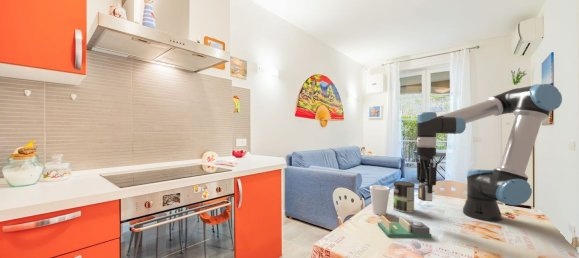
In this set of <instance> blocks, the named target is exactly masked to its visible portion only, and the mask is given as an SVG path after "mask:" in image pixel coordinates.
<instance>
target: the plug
mask: <svg viewBox="0 0 579 258" xmlns="http://www.w3.org/2000/svg"><path fill="white" fill-rule="evenodd" d="M417 193H418V195H417V198H418V200H420V201H422V202H423V201H424V202H432V201H431V200H425V185H420V184H418V192H417Z"/></svg>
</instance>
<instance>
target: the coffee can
mask: <svg viewBox="0 0 579 258" xmlns="http://www.w3.org/2000/svg"><path fill="white" fill-rule="evenodd" d="M392 183H393V207H392V208H393V210H394V211H397V212H401V213H407V214H408V213H413V212H415V186H416V185H415V183H413V182H412V181H411V182H410V181H404V180H403V181H401V180H398V181H397V180H396V181H393V182H392Z"/></svg>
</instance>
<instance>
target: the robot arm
mask: <svg viewBox="0 0 579 258" xmlns="http://www.w3.org/2000/svg"><path fill="white" fill-rule="evenodd" d="M562 101H563V95H562V93H561V91H559V88H557V86H554V84H553V85H552V84H550V83H538V84H537V83H536V84H533V85H528V86H522V87H519V88H513V89H510V90H507V91H505V92H501V93H499V94H496V95H494V96H490V97H488V98H487V99H486V100H485V101H482V102H478V103H476V104H473V105H470V106H469V105H468V106H467V107H463V108H460V109H457V110H454V111H450V112H447V113H444V114H441V115H437V113H436V112H435V111H434V112H433V111H425V112H424V111H421V112H418V113H417V118H416V128H417V129H416V134H417V135H416V138H417V139H416V144H417V145H416V147H417V148H416V155H417V156H419V158H416V161H415V162H416V180H417V181H418V182H419V185H425V200H431V201H430V202H432V201H433V187H434V186H436V185H437V172H438V171H437V168H438V164H439V163H438V162H434V158H433V157H435V156H437V148H436V147H437V134H442V135H443V134H444V135H445V134H450V135H452V134H453V135H456V134H459V135H460V134H463V133H464V131H465V130H466V128H467V126H466V125H467V124H469V123H471V122H475V121H478V120H481V119H484V118H487V117H491V116H495V117H496V116H500V115H504V114H505V115H507V114H512V115H514V117H515V118H514V121H513V124H512V128H511V130H510V134H509V137H508V138H507V143H506V146H505V148H504V152H503V155H502V157H501V161H500V164H499V166H497V167H495V168H493V169H469V170H468V171H467V174H466V180H467V182H466V183H467V184H466V185H467V187H466V190H467V191H466V193H467V195H466V196H467V197H466V200H465V203H464V205H463V207H462V213H463V215H465V216H468V217H470V218H473V219H477V220H483V221H488V222H489V221H491V222H499V221H501V220H502V212H501V209H500V208H499V205H498V202H500V203H503V204H506V205H510V206H519V205H522V204H525V203H527V202H528V200H529V199H530V198H531V196H532V194H533V193H532V192H533V191H532V190H533V189H532V186H531V185H530V183H529V182H528V179H529V176H528V175H527V174H526V170H527V167H528V165H529V161H530V159H531V155H532V151H533V149H534V146H535V143H536V140H537V136H538V134H539V131H540V127H541V124H542V121H544V120H546V119H548V118H549V116H550V113H551V112H552V111H555V110H557V109H558V108H559V107H560V106H561V105H562Z"/></svg>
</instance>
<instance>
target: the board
mask: <svg viewBox="0 0 579 258" xmlns="http://www.w3.org/2000/svg"><path fill="white" fill-rule="evenodd" d="M380 220H381V221H380V222H378V221H377V226H378V227H379V228H380V230H381V231H382V233H384V234H385V235H386V236H387V238H432V234H431V231H430V230H431V229H430V227H428V226H427V225H426V224H425V223H423V222H421V221H420V222H416V221H415V222H413V221H411V222H410V221H409V222H408V221H407V220H405V219H404V218H403V217H402V216H398V222H391V221H390V220H388V219H387V218H386V216H385V215H380Z"/></svg>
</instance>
